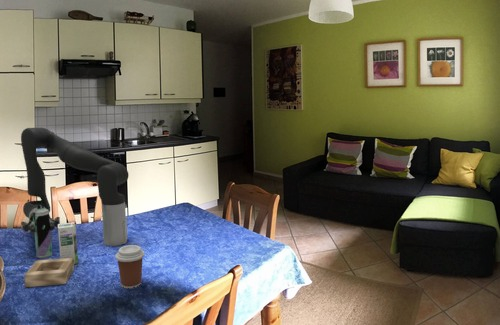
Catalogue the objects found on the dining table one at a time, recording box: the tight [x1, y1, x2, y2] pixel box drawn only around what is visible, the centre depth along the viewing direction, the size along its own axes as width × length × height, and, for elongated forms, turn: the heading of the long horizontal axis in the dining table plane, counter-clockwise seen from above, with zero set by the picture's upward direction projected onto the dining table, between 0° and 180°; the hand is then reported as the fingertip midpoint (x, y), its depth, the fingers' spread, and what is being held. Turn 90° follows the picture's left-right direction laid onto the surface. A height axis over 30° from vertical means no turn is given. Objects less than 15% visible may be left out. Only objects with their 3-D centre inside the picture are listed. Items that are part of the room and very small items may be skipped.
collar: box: [23, 258, 75, 288], centre depth 132 cm, size 12×12×4 cm
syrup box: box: [57, 221, 79, 265], centre depth 143 cm, size 6×6×14 cm
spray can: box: [33, 204, 53, 259], centre depth 149 cm, size 6×6×20 cm
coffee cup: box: [114, 244, 145, 289], centre depth 127 cm, size 9×9×12 cm
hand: (42, 229), depth 147 cm, fingers closed on spray can, 5 cm apart
